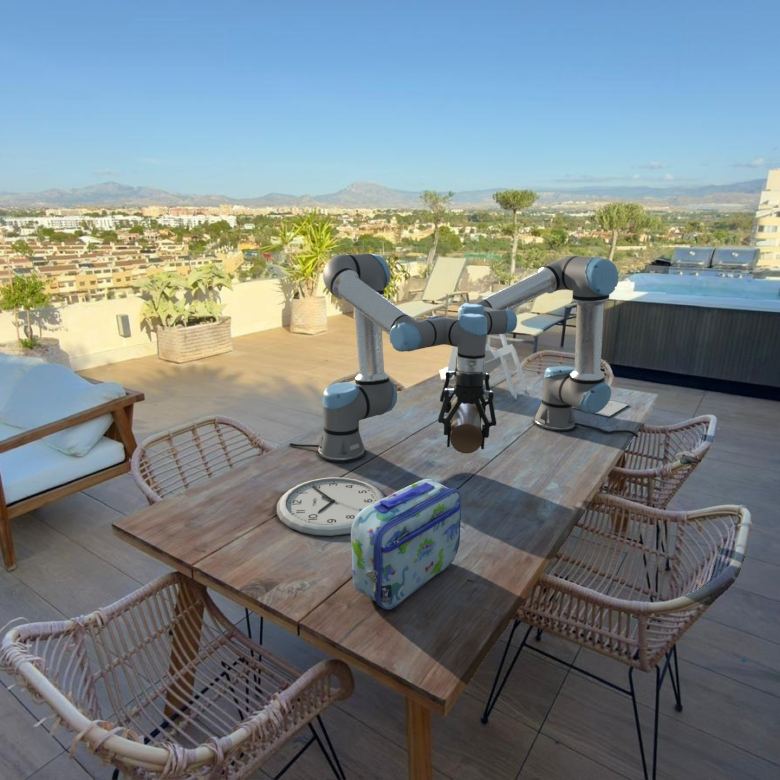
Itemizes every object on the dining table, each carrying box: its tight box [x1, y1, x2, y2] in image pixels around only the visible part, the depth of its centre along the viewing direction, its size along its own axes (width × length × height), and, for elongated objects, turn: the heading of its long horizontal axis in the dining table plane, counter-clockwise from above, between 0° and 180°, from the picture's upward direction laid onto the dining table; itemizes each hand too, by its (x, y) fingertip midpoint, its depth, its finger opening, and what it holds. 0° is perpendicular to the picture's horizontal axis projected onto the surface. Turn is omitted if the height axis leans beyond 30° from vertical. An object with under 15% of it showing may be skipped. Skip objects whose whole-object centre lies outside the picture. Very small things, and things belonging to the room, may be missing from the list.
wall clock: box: [276, 476, 386, 537], centre depth 142 cm, size 30×2×30 cm
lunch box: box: [350, 478, 462, 611], centre depth 110 cm, size 26×11×21 cm, turn 135°
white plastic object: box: [438, 334, 531, 400], centre depth 245 cm, size 37×45×31 cm
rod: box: [450, 396, 483, 454], centre depth 158 cm, size 27×9×9 cm, turn 173°
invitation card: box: [573, 400, 629, 418], centre depth 226 cm, size 21×1×15 cm
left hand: (465, 446), depth 151 cm, fingers closed on rod, 9 cm apart
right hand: (464, 423), depth 168 cm, fingers closed on rod, 9 cm apart
